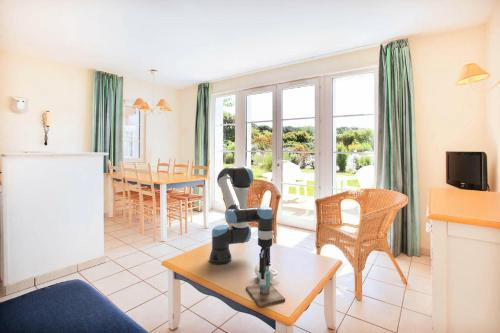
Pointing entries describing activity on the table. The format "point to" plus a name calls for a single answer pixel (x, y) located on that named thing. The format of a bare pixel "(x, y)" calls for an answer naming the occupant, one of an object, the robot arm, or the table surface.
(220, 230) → the robot arm
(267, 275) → the cap
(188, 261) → the table surface
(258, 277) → the mug
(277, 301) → the stud board
